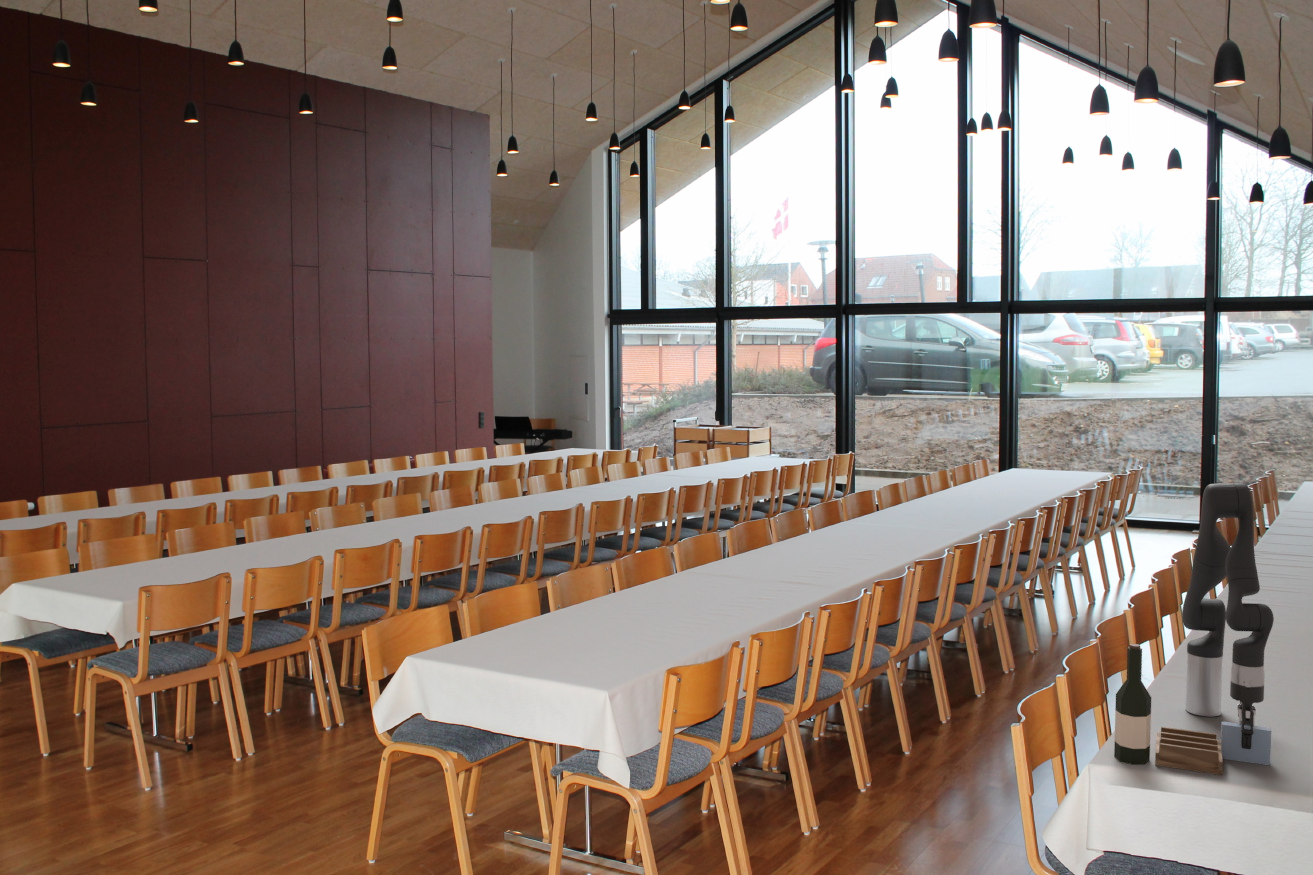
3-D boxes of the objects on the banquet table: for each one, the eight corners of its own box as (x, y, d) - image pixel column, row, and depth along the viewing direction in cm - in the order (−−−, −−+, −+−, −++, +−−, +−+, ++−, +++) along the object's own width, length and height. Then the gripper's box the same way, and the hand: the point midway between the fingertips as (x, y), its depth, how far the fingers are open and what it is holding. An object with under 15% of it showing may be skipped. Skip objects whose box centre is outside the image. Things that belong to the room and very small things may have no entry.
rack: (1156, 743, 281) (1157, 724, 280) (1220, 752, 274) (1220, 732, 274) (1155, 764, 267) (1155, 744, 266) (1222, 774, 260) (1222, 754, 259)
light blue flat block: (1220, 754, 273) (1221, 721, 272) (1269, 761, 268) (1270, 727, 267) (1220, 758, 270) (1221, 724, 270) (1269, 765, 265) (1271, 730, 265)
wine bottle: (1150, 766, 266) (1154, 650, 263) (1114, 762, 269) (1117, 647, 266) (1148, 754, 273) (1151, 642, 271) (1113, 750, 276) (1116, 639, 274)
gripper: (1229, 671, 275) (1227, 731, 276) (1231, 686, 263) (1229, 749, 264) (1262, 674, 272) (1260, 735, 273) (1266, 690, 259) (1264, 754, 260)
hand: (1245, 742), depth 268 cm, fingers open, 8 cm apart
